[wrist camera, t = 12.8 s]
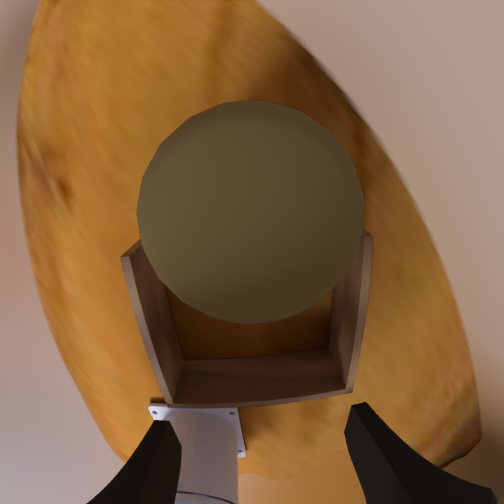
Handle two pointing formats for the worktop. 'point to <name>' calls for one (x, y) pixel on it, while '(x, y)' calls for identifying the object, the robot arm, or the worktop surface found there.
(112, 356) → the worktop surface
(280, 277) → the pepper mill
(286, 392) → the open wooden enclosure
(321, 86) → the worktop surface
